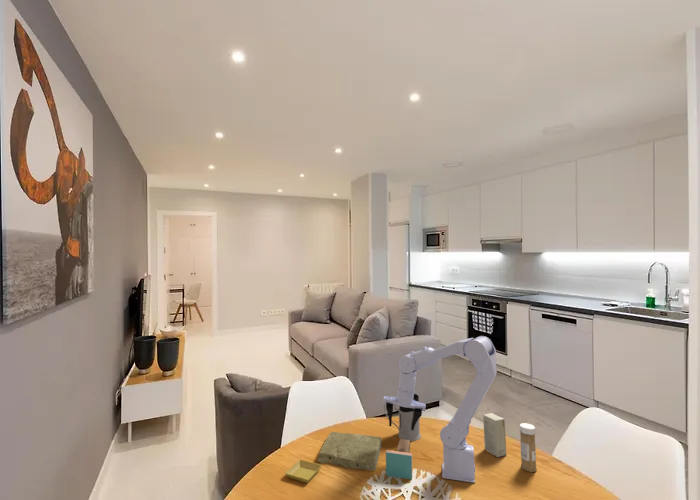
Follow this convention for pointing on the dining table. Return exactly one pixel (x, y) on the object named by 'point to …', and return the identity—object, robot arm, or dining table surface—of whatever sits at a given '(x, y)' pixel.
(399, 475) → the glazed tile
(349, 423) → the dining table surface
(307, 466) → the saucer
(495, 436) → the skincare box
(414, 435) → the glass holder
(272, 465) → the dining table surface
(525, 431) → the sprinkles bottle
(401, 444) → the walnut stick
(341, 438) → the decorative tile
